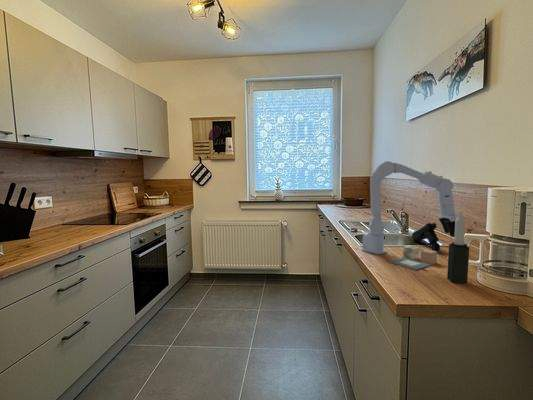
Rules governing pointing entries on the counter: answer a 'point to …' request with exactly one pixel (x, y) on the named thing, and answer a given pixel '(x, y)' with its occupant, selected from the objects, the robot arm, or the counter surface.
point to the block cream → (411, 252)
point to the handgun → (427, 236)
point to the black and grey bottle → (458, 254)
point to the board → (410, 263)
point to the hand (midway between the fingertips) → (450, 234)
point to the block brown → (429, 256)
